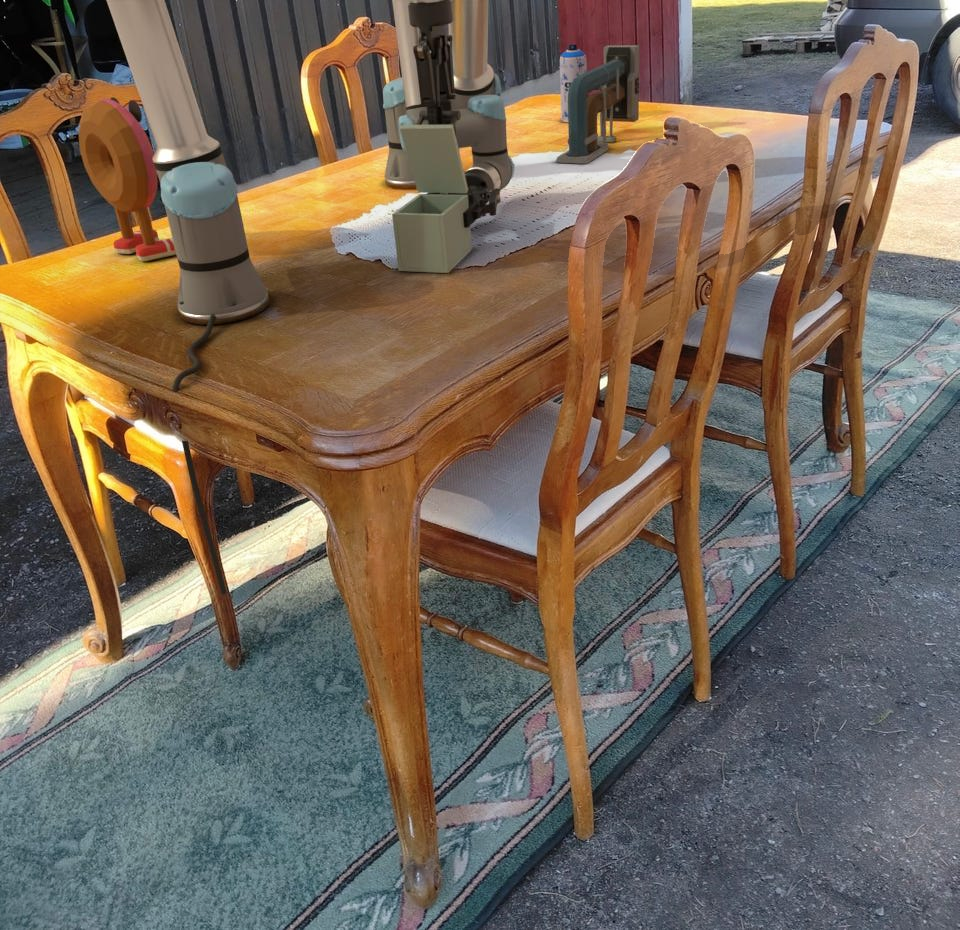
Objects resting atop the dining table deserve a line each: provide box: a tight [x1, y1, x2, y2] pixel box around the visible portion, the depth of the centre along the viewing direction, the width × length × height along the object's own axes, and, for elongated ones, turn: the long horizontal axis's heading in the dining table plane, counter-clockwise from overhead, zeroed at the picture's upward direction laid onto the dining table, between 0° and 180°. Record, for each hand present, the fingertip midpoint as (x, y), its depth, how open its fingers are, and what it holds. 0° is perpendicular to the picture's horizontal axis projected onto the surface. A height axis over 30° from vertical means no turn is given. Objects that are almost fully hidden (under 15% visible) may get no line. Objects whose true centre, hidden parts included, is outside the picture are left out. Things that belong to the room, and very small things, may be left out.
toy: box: [78, 96, 177, 262], centre depth 190 cm, size 21×10×30 cm, turn 47°
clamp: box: [555, 44, 640, 164], centre depth 242 cm, size 35×9×21 cm, turn 151°
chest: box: [391, 193, 473, 274], centre depth 177 cm, size 13×10×10 cm
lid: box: [400, 110, 468, 194], centre depth 176 cm, size 14×10×8 cm
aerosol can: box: [559, 43, 588, 123], centre depth 273 cm, size 8×8×20 cm
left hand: (442, 140), depth 177 cm, fingers open, 4 cm apart
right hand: (438, 219), depth 179 cm, fingers closed on chest, 10 cm apart
